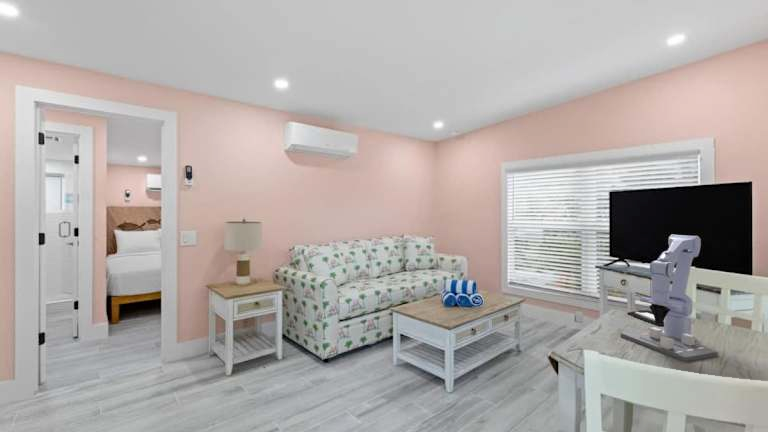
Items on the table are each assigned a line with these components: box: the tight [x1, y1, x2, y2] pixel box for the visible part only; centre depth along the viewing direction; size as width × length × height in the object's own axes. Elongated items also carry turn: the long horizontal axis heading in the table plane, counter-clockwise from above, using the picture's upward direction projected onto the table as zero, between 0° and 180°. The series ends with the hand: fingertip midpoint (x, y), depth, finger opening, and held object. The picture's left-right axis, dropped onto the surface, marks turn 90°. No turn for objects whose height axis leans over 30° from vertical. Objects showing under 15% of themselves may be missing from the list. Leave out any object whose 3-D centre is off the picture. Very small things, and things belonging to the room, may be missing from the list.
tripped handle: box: [649, 326, 663, 339], centre depth 140 cm, size 3×3×4 cm
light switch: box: [626, 309, 664, 328], centre depth 167 cm, size 20×3×14 cm
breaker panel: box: [620, 328, 719, 362], centre depth 136 cm, size 18×24×5 cm
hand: (659, 323), depth 138 cm, fingers closed
